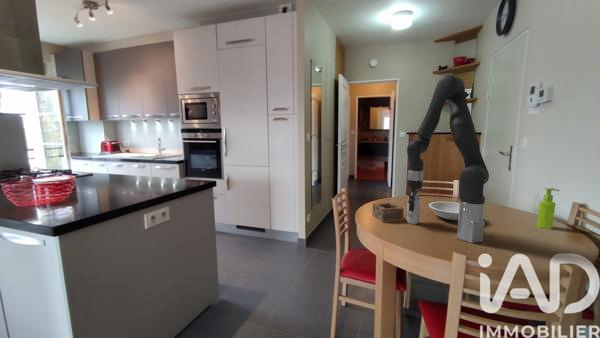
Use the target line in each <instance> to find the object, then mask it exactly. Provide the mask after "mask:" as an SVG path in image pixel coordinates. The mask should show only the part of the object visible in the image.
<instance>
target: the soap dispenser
mask: <svg viewBox="0 0 600 338" xmlns="http://www.w3.org/2000/svg"><path fill="white" fill-rule="evenodd" d="M544 190H545V191H546V193H545V194H543V197H542V198H543V200H539V204H538V209H537V210H538V211H537V212H538V213H537V218H536V219H537V220H536V227H537V228H539V229H540V228H541V229H545V230H552V229H553V225H554V216H555V212H556V211H555V209H556V204H557V203H556V202H554V199H553V198H554V195H553V194H552V191H556V192H557V191H558V192H560V189H556V188H553V187H552V188H550V187H548V188H546V187H545V188H544Z"/></svg>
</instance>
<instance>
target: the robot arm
mask: <svg viewBox="0 0 600 338" xmlns="http://www.w3.org/2000/svg"><path fill="white" fill-rule="evenodd" d="M467 101H468V100H467V96H466V89H465V83H464V81H463V80H462V78H460V77H459V76H454V75H450V74H449V75H448V74H447V75H443V76H442V77H441V78H440V79H439V80H438V82H437V83H436V85H435V88H434V92H433V95H432V98H431V101H430V103H429V105H428V106H429V107H428V109H427V110H426V113H425V116H424V118H423V119H422V121H421V123H420V126H419V127H418V129H417V132H416V133H417V135H418V136H417V139H416V140H412V141H409V143H408V144H407V149H406V152H407V160H408V170H407V176H406V177H407V178H406V187H407V188H408V189H410V190H409V192H408V197H409V201H408V200H407V203H409V211H414V204H415V201H416V198H417V195H419V193H420V190H422V189H423V186H424V185H423V184H424V182H423V181H424V166H425V165H424V160H423V159H421V158H422V157H421V154H424V153H425V152H427V150H428V148H429V146H430V143H431V139H432V136H433V135H434V133H435V130H436V129H437V127H438V125H439V122H440V120H441V115H442V111H443V108H444V106H445V105H446V102H447V103H448V106H449V129H450V134H451V138H452V140H453V142H454V145H455V146H456V148H457V149H458V151H459V152H460V154H461V156H462V159H463V163H464V167H465V168H463V169H462V171H461V172H460V175H459V186H458V194H459V203H460V206H459V217H458V220H457V231H456V237H457V238H458V239H460V240H461V241H464V242H468V243H471V244H473V243H482V242H483V241H484V232H485V225H486V224H485V223H486V222H485V220H484V212H485V203H486V202H485V201H486V198H485V196H484V186H485V185H486V183H488V182H489V180H490V179H489V178H490V172H489V170H488V167H487V165H486V163H485V160H484V157H483V155H482V152H481V148H480V143H479V140H478V136H477V132H476V127H475V124H474V121H473V119H472V113H471V112H470V109H469V105H468V102H467ZM419 196H420V195H419ZM411 200H413V201H411Z"/></svg>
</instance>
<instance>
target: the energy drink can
mask: <svg viewBox="0 0 600 338" xmlns="http://www.w3.org/2000/svg"><path fill="white" fill-rule="evenodd" d="M408 201H409V196H408V197H407V204H406V205H407V206H406V207H407V208H406V222H407V223H408V224H409V225H418V223H419V222H420V210H421V209H420V208H421V198H420V195H417V198H416V201H415V204H414V211H409V203H408ZM411 201H413V200H411Z"/></svg>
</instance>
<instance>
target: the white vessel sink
mask: <svg viewBox="0 0 600 338" xmlns="http://www.w3.org/2000/svg"><path fill="white" fill-rule="evenodd" d="M459 206H460V202H454V201H433V202H430V203H428V207H429V208H431V210H432V211H433V213H434V214H435V215H437V216H438V217H440V218H441V219H446V220H450V221H458V217H459Z"/></svg>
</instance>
